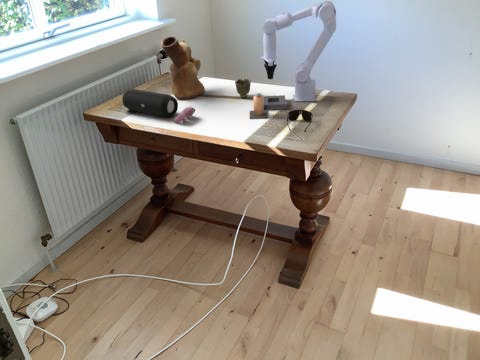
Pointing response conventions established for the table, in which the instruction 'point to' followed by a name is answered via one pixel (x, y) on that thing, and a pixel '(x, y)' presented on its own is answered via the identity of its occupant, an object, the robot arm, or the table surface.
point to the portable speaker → (150, 102)
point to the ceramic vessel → (183, 69)
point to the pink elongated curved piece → (185, 115)
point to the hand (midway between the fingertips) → (270, 76)
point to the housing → (275, 102)
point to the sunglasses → (295, 114)
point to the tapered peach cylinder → (258, 104)
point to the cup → (243, 87)
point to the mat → (258, 116)
